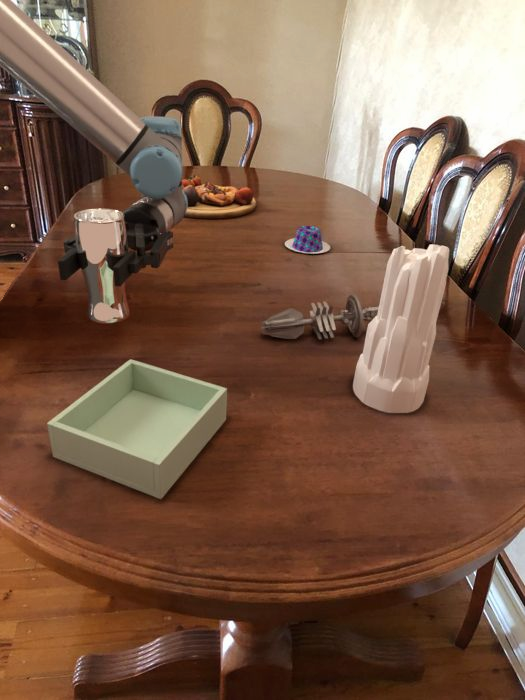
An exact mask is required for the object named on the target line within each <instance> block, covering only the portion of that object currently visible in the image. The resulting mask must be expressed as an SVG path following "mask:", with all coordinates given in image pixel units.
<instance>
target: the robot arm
mask: <svg viewBox="0 0 525 700" xmlns="http://www.w3.org/2000/svg"><path fill="white" fill-rule="evenodd" d="M0 67H1V68H2V69H3V70H4V71H6V72H7V73H8V74H9V75H11V76H12V78H14V79H15V80H16V81H18V83H20V84H21V85H22V86H23V87H24V88H26V89H27V90H28V91H29V92H30V93H32V94H33V95H34V96H35V97H36V98H37V99H39V100H40V101H41V102H42V103H44V104H45V105H46V107H49V109H50V110H51V111H53V112H54V113H55V114H56V115H58V116H59V118H61V119H62V120H63V121H65V122H66V123H68V125H69V126H71V127H72V128H73V129H74V130H75V131H77V132H78V134H80V135H81V136H82V137H84V138H85V140H86V141H88V142H90V143H91V144H92V145H93V146H94V147H96V149H98V150H99V151H100V152H101V153H102V154H104V155H105V156H106V157H107V158H109V160H110V161H112V162H113V163H114V164H115V165H117V167H119V168H120V169H121V170H122V171H123V172H125V174H127V175H128V176H129V177H130V179H131V182H132V184H133V185H134V187H135V189H136V190H137V191H138V192H139V193H140V198H139V199H138V200H137V201H136V202H134V203H132V204H131V205H129V206H128V207H127V208H125V209H124V210H122V211H121V212H122V213H124V218H125V224H126V231H127V238H128V249H130V250H128V253H127V254H126V255H125V256H124V257H123V258H122V259H121V260H120V261H119V262H118V263H117V264H116V265H115V266H114V267H113V272H114V283H115V286H119V287H120V286H121V285H122V284H123V283H124V282H125V281H126V282H127V280H128V279H129V278H130V277H131V276H132V275H133V274H138V273H139V272H140V271H141V270H143V269H145V268H146V267H147V266H150V267H151V268H152V269H159V268H160V266H161V265H162V263H163V260H164V259H165V257H166V255H167V254H168V251H170V250H172V249H173V248H174V232H173V231H172V230H173V229H174V227H175V226H177V225H178V224H179V223H181V221H182V220H183V219H184V214H185V213H186V211H187V207H188V201H187V197H186V195H185V193H184V191H183V190H182V179H183V175H184V174H183V173H184V171H183V170H184V169H183V163H182V162H183V161H182V160H183V155H182V154H183V152H182V151H183V150H182V149H183V148H182V146H183V145H182V143H183V137H182V127H181V126H182V125H181V122H180V120H178V119H176V118H174V117H168V116H154V115H153V116H142V117H139V116H138V115H136V114H135V113H134V112H133V111H132V110H131V109H129V107H128V106H127V105H125V103H123V102H122V101H121V100H120V99H119V98H118V97H117V96H116V95H115V94H114V93H112V92H111V90H109V89H108V88H107V87H106V86H105V85H104V84H103V83H102V82H100V81H99V80H98V78H96V77H95V76H94V75H93V74H92V73H91V72H90V71H88V70H87V68H85V67H84V66H83V65H82V64H81V63H80V62H79V61H77V60H76V58H75V57H73V56H72V55H71V54H70V53H69V52H68V51H67V50H66V49H65V48H63V46H62V45H60V43H58V42H57V41H56V40H55V39H54V38H52V36H51V35H49V34H48V33H47V32H46V31H45V30H44V29H43V28H42V27H40V25H39V24H37V23H36V21H34V20H33V19H32V18H31V17H30V16H29V15H28V14H27V13H25V12H24V11H23V10H22V9H21V8H20V7H19V6H18V5H17V4H16V3H14V1H12V0H0ZM63 249H64V254H62V257H61V258H60V259H58V260H57V264H58V265H57V266H58V273H59V279H60V281H67V280H68V279H70V277H72V276H73V275H74V274H75V273H76V272H78V271H79V270H81V267H80V263H79V260H78V256H77V250H76V241H75V234H74V235H71V236H70V237H68V238H66V239H64V240H63ZM149 251H150V252H149Z"/></svg>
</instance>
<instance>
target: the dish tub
mask: <svg viewBox="0 0 525 700" xmlns="http://www.w3.org/2000/svg"><path fill="white" fill-rule="evenodd" d="M227 402H228V388H227V387H223V386H220V385H217V384H214V383H211V382H207V381H204V380H200V379H197V378H195V377H191V376H188V375H184V374H181V373H177V372H174V371H170V370H168V369H164V368H161V367H158V366H155V365H151V364H148V363H145V362H141V361H138V360H136V359H135V360H134V359H131V358H130V359H129V360H127V361H126V362H124V363H123V364H122V365H121V366H119V367H118V368H116V370H114V371H112V372H111V374H109V375H108V376H106V377H105V378H104V379H102V380H101V381H100V382H98V383H97V384H96V385H94V386H93V387H92V388H91V389H89V390H88V391H87V392H86V393H84V394H83V395H82V396H80V397H79V398H78V399H76V400H75V401H74V402H73V403H71V404H70V405H69V406H68V407H66V408H64V410H62V411H61V412H60V413H58V414H57V415H56V416H54V417H53V418H51V419H50V420H49V421H48V422H47V423H46V426H47V432H48V436H49V442H50V447H51V452H52V457H53V458H55V459H58V460H60V461H63V462H65V463H67V464H70V465H73V466H76V467H78V468H81V469H83V470H85V471H88V472H90V473H93V474H96V475H99V476H100V477H103V478H105V479H108V480H111V481H114V482H116V483H118V484H121V485H124V486H126V487H129V488H131V489H134V490H136V491H139V492H141V493H144V494H146V495H149V496H151V497H154V498H156V499H159V500H162V499H163V498H164V496H165V495H167V493H168V492H169V490H170V489H171V488H172V487H173V486H174V484H175V483H176V482H177V481H178V479H179V478H180V477H181V476H182V475H183V473H184V472H185V471H186V469H187V468H188V467H189V465H191V463H193V462H194V460H195V458H196V457H197V456H198V455H199V454H200V452H202V450H203V449H204V448H205V447H206V445H207V443H208V442H209V441H210V440H211V439H212V438H213V436H214V435H215V434H216V433H217V432H218V430H219V429H220V428H221V427H222V426H223V424H224V423H225V422H226V420H227V407H228V405H227V404H228V403H227Z"/></svg>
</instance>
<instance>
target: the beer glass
mask: <svg viewBox="0 0 525 700" xmlns="http://www.w3.org/2000/svg"><path fill="white" fill-rule="evenodd" d="M122 212H123V211H120V210H118V209H113V208H104V207H103V208H102V207H99V208H98V207H97V208H96V207H95V208H88V209H83V210H79V211H77V212H75V213H74V215H73V220H74V235H75V241H76V250H77V256H78V260H79V263H80V267H81V268H80V270H81V273H82V276H83V279H84V283H85V286H86V289H87V296H88V304H87V317H88V319H89V320H91V321H92V322H94V323H99V324H115V323H120V322H123V321H124V320H126V319H127V318H129V316H130V314H131V310H130V305H129V303H128V297H127V293H126V284H127V280H126V281H125V282H124V283H123V284H122V285H121V286H120V287H119V286H115V283H114V272H113V267H114V266H115V265H116V264H117V263H118V262H119V261H120V260H121V259H122V258H123V257H124V256H125V255H126V254H127V253H128V252H129V247H128V238H127V231H126V224H125V218H124V213H122Z"/></svg>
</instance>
